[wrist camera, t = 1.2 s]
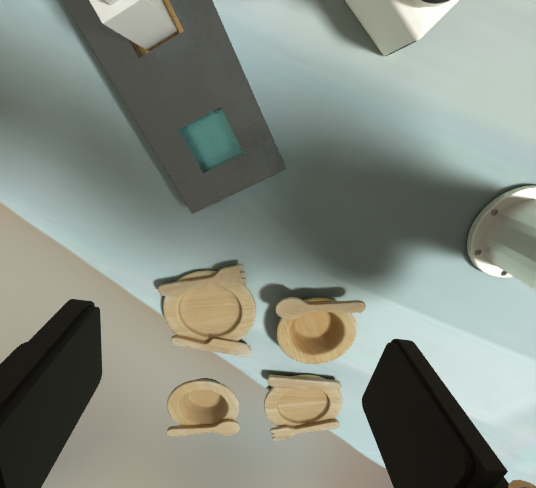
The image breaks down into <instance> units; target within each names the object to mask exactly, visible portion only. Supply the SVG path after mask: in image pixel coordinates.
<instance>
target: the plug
mask: <svg viewBox="0 0 536 488" xmlns="http://www.w3.org/2000/svg"><path fill="white" fill-rule="evenodd" d="M89 1H90V3H91V4H92V6H93V8H94V10H95V11H96V13H97V15H98V16H99V18H100V20H101V22H102V23H103V24H104V25H106V26H107V27H109V28H111V29H112V30H114V31H116V32H117V33H119V34H121V35H122V36H124V37H126V38H127V39H129V40H131V41H132V42H134V43H136V44H137V45H139V46H141V47H142V48H144V49H146V50H147V51H148V50H150V49H152V48H153V47H155V46H157V45H158V44H160V43H162V42H163V41H165V40H167V39H169V38H170V37H172V36H174V35H175V34H177V33H179V32H178V30H177V28H176V26H175V24H174V22H173V20H172V18H171V16H170V14H169V12H168V10H167V8H166V6H165V4H164V2H163V0H89Z"/></svg>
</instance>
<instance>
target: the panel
mask: <svg viewBox="0 0 536 488" xmlns="http://www.w3.org/2000/svg"><path fill="white" fill-rule="evenodd" d="M63 1H64V3H65V5H66V6H67V8H68V10H69V11H70V13H71V14H72V16H73V18H74V19H75V21H76V23H77V24H78V26H79V28H80V29H81V31H82V33H83V34H84V36H85V38H86V39H87V41H88V43H89V44H90V46H91V48H92V49H93V51H94V52H95V54H96V56H97V57H98V59H99V61H100V62H101V64H102V66H103V67H104V69H105V71H106V72H107V74H108V76H109V77H110V79H111V81H112V82H113V84H114V85H115V87H116V89H117V90H118V92H119V94H120V95H121V97H122V99H123V100H124V102H125V104H126V105H127V107H128V109H129V110H130V112H131V114H132V115H133V117H134V119H135V120H136V122H137V123H138V125H139V127H140V128H141V130H142V132H143V133H144V135H145V137H146V138H147V140H148V142H149V143H150V145H151V147H152V148H153V150H154V152H155V153H156V155H157V156H158V158H159V160H160V161H161V163H162V165H163V166H164V168H165V170H166V171H167V173H168V175H169V176H170V178H171V180H172V181H173V183H174V185H175V186H176V188H177V190H178V191H179V193H180V194H181V196H182V198H183V199H184V201H185V203H186V204H187V206H188V208H189V209H190V211H191V213H192V214H193V213H195V212H197V211H199V210H201V209H203V208H205V207H207V206H210V205H212V204H214V203H216V202H218V201H220V200H222V199H224V198H226V197H228V196H230V195H232V194H235V193H237V192H239V191H241V190H243V189H245V188H247V187H249V186H251V185H253V184H255V183H257V182H259V181H262V180H264V179H266V178H268V177H270V176H272V175H274V174H276V173H278V172H280V171H282V170H284V169H286V168H285V165H284V163H283V161H282V158H281V156H280V154H279V152H278V149H277V147H276V145H275V142H274V140H273V138H272V136H271V133H270V131H269V129H268V127H267V124H266V122H265V120H264V117H263V115H262V113H261V111H260V108H259V106H258V104H257V101H256V99H255V97H254V95H253V92H252V90H251V88H250V85H249V83H248V81H247V79H246V76H245V74H244V72H243V70H242V67H241V65H240V63H239V60H238V58H237V56H236V54H235V51H234V49H233V47H232V44H231V42H230V40H229V38H228V35H227V33H226V31H225V28H224V26H223V24H222V22H221V19H220V17H219V15H218V13H217V10H216V8H215V6H214V3H213V1H212V0H163V2H164V4H165V6H166V8H167V10H168V12H169V14H170V16H171V18H172V20H173V22H174V24H175V26H176V28H177V30H178V32H179V33H177V34H175V35H174V36H172V37H170V38H169V39H167V40H165V41H163V42H162V43H160V44H158V45H157V46H155V47H153V48H152V49H150V50H148V51H147V50H146V49H144V48H142V47H141V46H139V45H137V44H136V43H134V42H132V41H131V40H129V39H127V38H126V37H124V36H122V35H121V34H119V33H117V32H116V31H114V30H112V29H111V28H109V27H107V26H106V25H104V24H103V23H102V22H101V20H100V18H99V16H98V15H97V13H96V11H95V10H94V8H93V6H92V4H91V3H90V1H89V0H63Z"/></svg>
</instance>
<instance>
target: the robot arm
mask: <svg viewBox="0 0 536 488" xmlns="http://www.w3.org/2000/svg"><path fill="white" fill-rule="evenodd" d="M467 251H468V255H469V257H470V260H471V261H472V263H473V264H474V265H475V266H476V267H477V268H478V269H480V270H481V271H483V272H484V273H486V274H488V275H491V276H494V277H499V278H509V277H515V278H516V279H518V280H519V281H521V282H523V283H524V284H526V285H527V286H529V287H531V288H532V289H534V290H535V291H536V185H532V186H523V187H519V188H515V189H513V190H510V191H508V192H505V193H504V194H502V195H500V196H499V197H497V198H495V199H494V200H493V201H492V202H490V203H489V204H488V205H487V206H486V207H485V208H484V209H483V210H482V211H481V212H480V213H479V215H478V216H477V218H476V219H475V220H474V222H473V224H472V226H471V228H470V231H469V235H468V238H467ZM101 376H102V356H101V325H100V309H99V307H95V305H94V303H93V302H92V301H84V300H76V299H71V300H69V301H68V302H67V303H66V304H65V305H64V306H63V307H62V308H61V309H60V310H59V311H58V312H57V313H56V314H55V315H54V316H53V317H52V318H51V319H50V320H49V321H48V322H47V323H46V324H45V325H44V326H43V327H42V328H41V329H40V330H39V331H38V332H37V333H36V335H34V336H33V338H31V339H30V340H29V341H28V342H26V343H23V344H21V345H20V346H19V347H17V348H16V349H15V350H14V351H13V352H12V353H11V354H10V355H9V356H8V357H7V358H6V359H5V360H4V361H3V362H2V363H1V364H0V488H41V487H42V485H43V483H44V481H45V479H46V478H47V476H48V474H49V472H50V470H51V468H52V467H53V465H54V463H55V461H56V460H57V458H58V456H59V454H60V453H61V451H62V449H63V447H64V446H65V444H66V442H67V440H68V438H69V437H70V435H71V433H72V431H73V429H74V428H75V426H76V424H77V422H78V420H79V419H80V417H81V415H82V413H83V412H84V410H85V408H86V406H87V404H88V403H89V401H90V399H91V397H92V396H93V394H94V392H95V390H96V388H97V387H98V385H99V383H100V380H101ZM362 406H363V409H364V412H365V415H366V417H367V420H368V422H369V425H370V427H371V430H372V433H373V435H374V438H375V440H376V443H377V445H378V448H379V451H380V453H381V456H382V458H383V461H384V463H385V466H386V469H387V471H388V474H389V476H390V479H391V481H392V484H393V487H394V488H536V486H535V485H533V484H531V483H529V482H526V481H522V480H513V481H512V482H511V483H508V482H507V481H506V479H505V478H504V475H505V474H506V473H507V472H508V471H507V470H506V468H505V467H504V466H503V464H502V463H501V461H500V460H499V459H498V457H497V456H496V455H495V453H494V452H493V450H492V449H491V448H490V446H489V445H488V444H487V442H486V441H485V439H484V438H483V437H482V435H481V434H480V433H479V431H478V430H477V428H476V427H475V426H474V424H473V423H472V422H471V420H470V419H469V417H468V416H467V415H466V413H465V412H464V411H463V409H462V408H461V406H460V405H459V404H458V402H457V401H456V400H455V398H454V397H453V395H452V394H451V393H450V391H449V390H448V389H447V387H446V386H445V384H444V383H443V382H442V380H441V379H440V378H439V376H438V375H437V373H436V372H435V371H434V369H433V368H432V367H431V365H430V364H429V362H428V361H427V360H426V358H425V357H424V356H423V354H422V353H421V351H420V350H419V349H418V347H417V346H416V344H415V343H414V342H412V341H409V340H401V339H394V340H392V341H391V343H388V344H387V345H386V347H385V349H384V352H383V354H382V356H381V358H380V360H379V362H378V365H377V367H376V369H375V371H374V373H373V375H372V377H371V380H370V382H369V384H368V386H367V388H366V390H365V393H364V395H363V398H362Z"/></svg>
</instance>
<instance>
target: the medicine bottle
mask: <svg viewBox="0 0 536 488" xmlns="http://www.w3.org/2000/svg"><path fill="white" fill-rule="evenodd" d="M345 1H346V3H347V4H348V6H349V7H350V9H351V10H352V11H353V13H354V14H355V16H356V17H357V18H358V20H359V21H360V23H361V24H362V26H363V27H364V28H365V30H366V31H367V33H368V34H369V36H370V37H371V38H372V40H373V41H374V43H375V44H376V45H377V47H378V48H379V50H380V51H381V53H382V54H383V55H384V56H388V55H390V54H392V53H394V52H396V51H398V50H400V49H402V48H404V47H406V46H408V45H410V44H412V43H414V42H416V41H418V40H419V39H421V38H422V37H423V36H424V35H425V34H426V33H427V32H428V31H429V30H430V29H431V28H432V27H433V26H434V25H435V24H436V23H437V22H438V21H439V20H440V19H441V18H442V17H443V16H444V15H445V14H446V13H447V12H448V11H449V10H450V9H451V8H452V7H453V6H454V5H455V4H456V3H457V2H458V1H459V0H345Z"/></svg>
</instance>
